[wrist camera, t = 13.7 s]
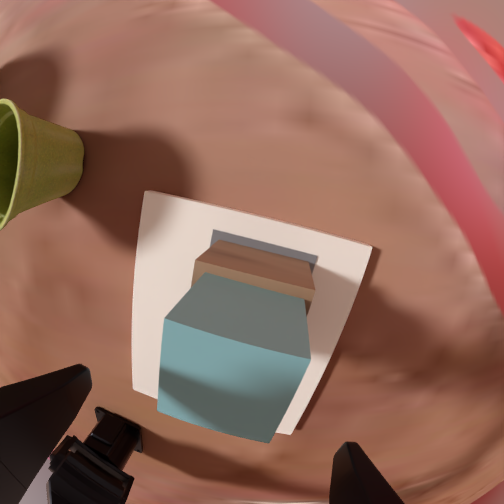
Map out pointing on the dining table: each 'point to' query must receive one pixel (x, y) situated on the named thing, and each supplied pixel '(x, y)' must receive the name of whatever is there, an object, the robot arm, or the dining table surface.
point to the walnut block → (257, 269)
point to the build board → (247, 234)
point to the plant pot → (34, 161)
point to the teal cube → (233, 357)
